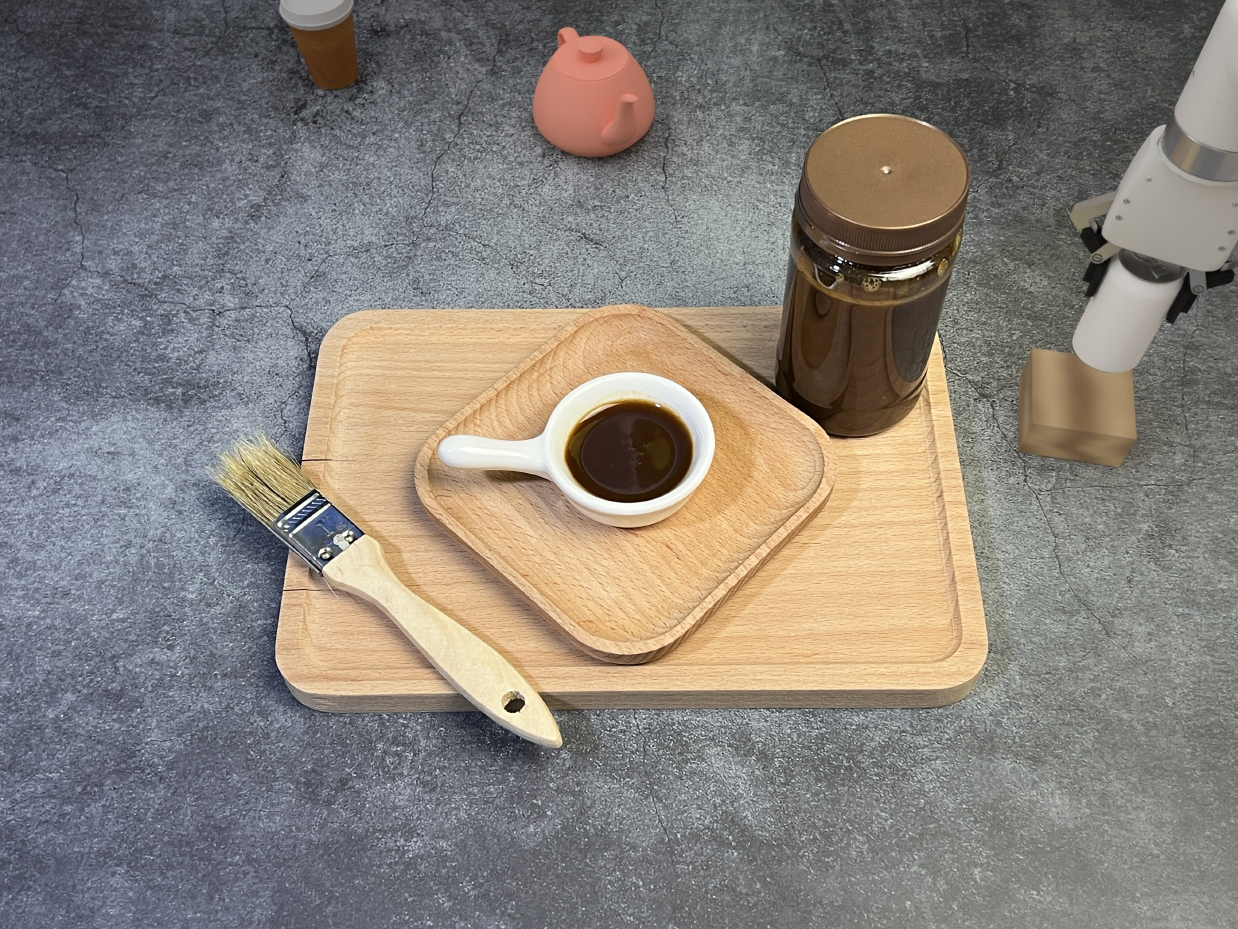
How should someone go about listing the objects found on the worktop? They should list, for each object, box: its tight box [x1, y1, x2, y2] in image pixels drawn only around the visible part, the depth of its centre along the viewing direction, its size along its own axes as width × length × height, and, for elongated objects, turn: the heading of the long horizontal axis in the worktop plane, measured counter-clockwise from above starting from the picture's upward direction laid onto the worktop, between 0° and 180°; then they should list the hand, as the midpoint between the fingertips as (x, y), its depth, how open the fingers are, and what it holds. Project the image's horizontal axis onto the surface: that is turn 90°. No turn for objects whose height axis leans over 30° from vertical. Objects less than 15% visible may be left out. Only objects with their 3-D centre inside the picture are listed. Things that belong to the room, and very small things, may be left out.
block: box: [1017, 347, 1138, 468], centre depth 113 cm, size 10×10×5 cm
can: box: [1071, 248, 1187, 373], centre depth 101 cm, size 6×6×12 cm
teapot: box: [532, 26, 656, 158], centre depth 138 cm, size 22×16×12 cm
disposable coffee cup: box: [278, 0, 360, 90], centre depth 146 cm, size 10×10×12 cm
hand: (1132, 298), depth 100 cm, fingers closed on can, 6 cm apart
